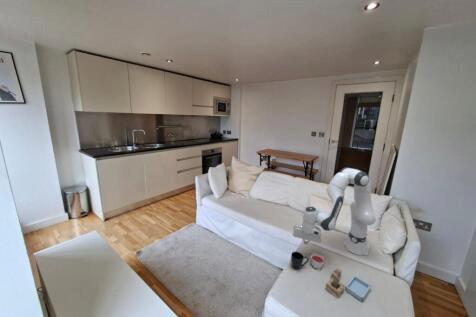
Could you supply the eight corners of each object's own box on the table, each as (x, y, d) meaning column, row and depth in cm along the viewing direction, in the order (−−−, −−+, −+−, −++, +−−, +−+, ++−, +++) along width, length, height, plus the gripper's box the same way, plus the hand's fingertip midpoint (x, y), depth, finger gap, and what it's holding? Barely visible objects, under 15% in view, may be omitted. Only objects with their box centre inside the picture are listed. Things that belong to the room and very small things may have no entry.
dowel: (333, 287, 126) (335, 274, 123) (337, 290, 123) (340, 277, 121) (331, 289, 124) (333, 276, 121) (335, 293, 122) (338, 280, 119)
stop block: (336, 273, 136) (337, 267, 135) (340, 276, 134) (341, 270, 133) (330, 279, 131) (331, 273, 130) (335, 282, 129) (336, 276, 128)
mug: (308, 272, 136) (310, 261, 134) (290, 270, 138) (292, 258, 136) (306, 263, 144) (307, 253, 142) (289, 261, 146) (291, 250, 144)
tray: (353, 278, 132) (354, 275, 131) (370, 289, 125) (371, 285, 124) (344, 290, 124) (345, 286, 123) (361, 302, 116) (362, 298, 115)
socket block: (331, 282, 129) (332, 277, 128) (343, 291, 123) (344, 286, 122) (325, 289, 124) (326, 283, 123) (337, 298, 118) (338, 293, 117)
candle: (320, 272, 137) (321, 264, 136) (308, 265, 143) (309, 258, 141) (325, 265, 144) (326, 257, 142) (313, 258, 149) (313, 251, 148)
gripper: (293, 226, 145) (291, 242, 149) (322, 233, 138) (319, 250, 142) (294, 222, 151) (292, 237, 154) (322, 229, 144) (319, 245, 147)
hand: (305, 243), depth 148 cm, fingers closed
